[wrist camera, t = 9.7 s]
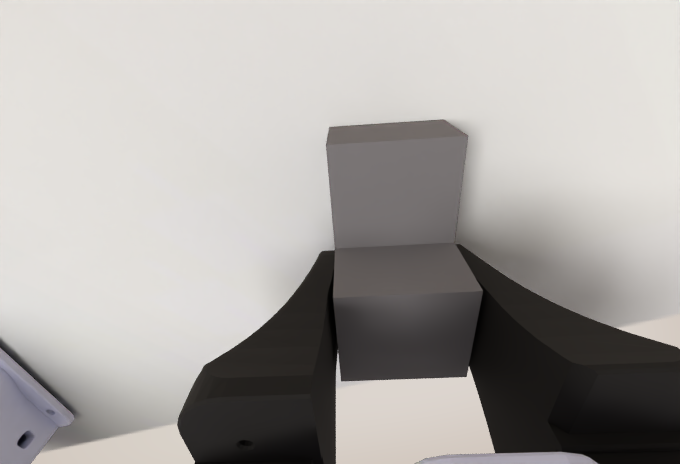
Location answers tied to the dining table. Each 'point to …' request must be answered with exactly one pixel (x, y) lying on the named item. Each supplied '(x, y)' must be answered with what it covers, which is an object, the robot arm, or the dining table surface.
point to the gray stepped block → (400, 251)
